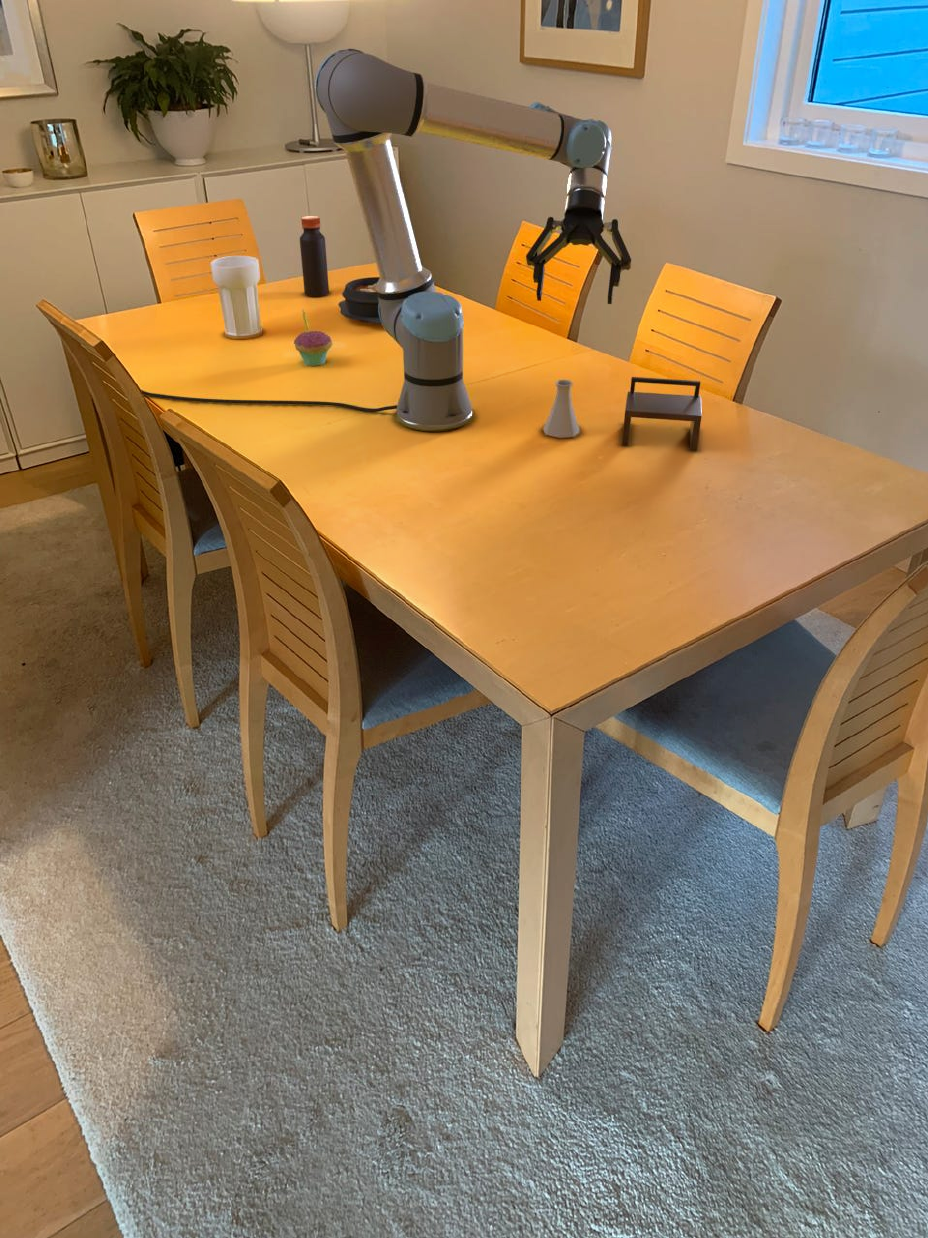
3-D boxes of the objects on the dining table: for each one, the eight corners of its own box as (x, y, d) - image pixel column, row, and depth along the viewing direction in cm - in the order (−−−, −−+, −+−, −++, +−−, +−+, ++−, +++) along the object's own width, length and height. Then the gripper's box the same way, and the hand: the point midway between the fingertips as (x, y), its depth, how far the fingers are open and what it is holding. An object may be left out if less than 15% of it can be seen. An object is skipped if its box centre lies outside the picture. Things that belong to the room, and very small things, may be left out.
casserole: (432, 323, 247) (431, 289, 242) (369, 336, 238) (367, 301, 233) (383, 299, 264) (381, 268, 259) (322, 311, 255) (319, 278, 250)
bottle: (301, 296, 266) (294, 219, 255) (308, 289, 272) (302, 214, 261) (325, 297, 266) (319, 220, 254) (332, 290, 271) (326, 215, 260)
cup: (276, 331, 241) (268, 259, 231) (245, 343, 233) (235, 269, 224) (242, 323, 246) (233, 253, 236) (211, 335, 238) (200, 263, 229)
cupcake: (289, 365, 220) (283, 313, 214) (308, 354, 227) (303, 302, 220) (322, 370, 218) (317, 317, 211) (340, 358, 224) (336, 306, 217)
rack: (621, 445, 183) (626, 395, 178) (624, 425, 192) (629, 376, 186) (696, 451, 181) (703, 400, 176) (696, 430, 189) (703, 381, 184)
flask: (577, 440, 185) (581, 390, 180) (540, 437, 187) (542, 387, 181) (581, 425, 191) (585, 377, 186) (545, 423, 192) (547, 374, 187)
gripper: (649, 212, 190) (638, 311, 187) (523, 208, 194) (511, 305, 191) (651, 188, 183) (640, 291, 179) (520, 185, 187) (507, 285, 183)
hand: (574, 298), depth 185 cm, fingers open, 13 cm apart
